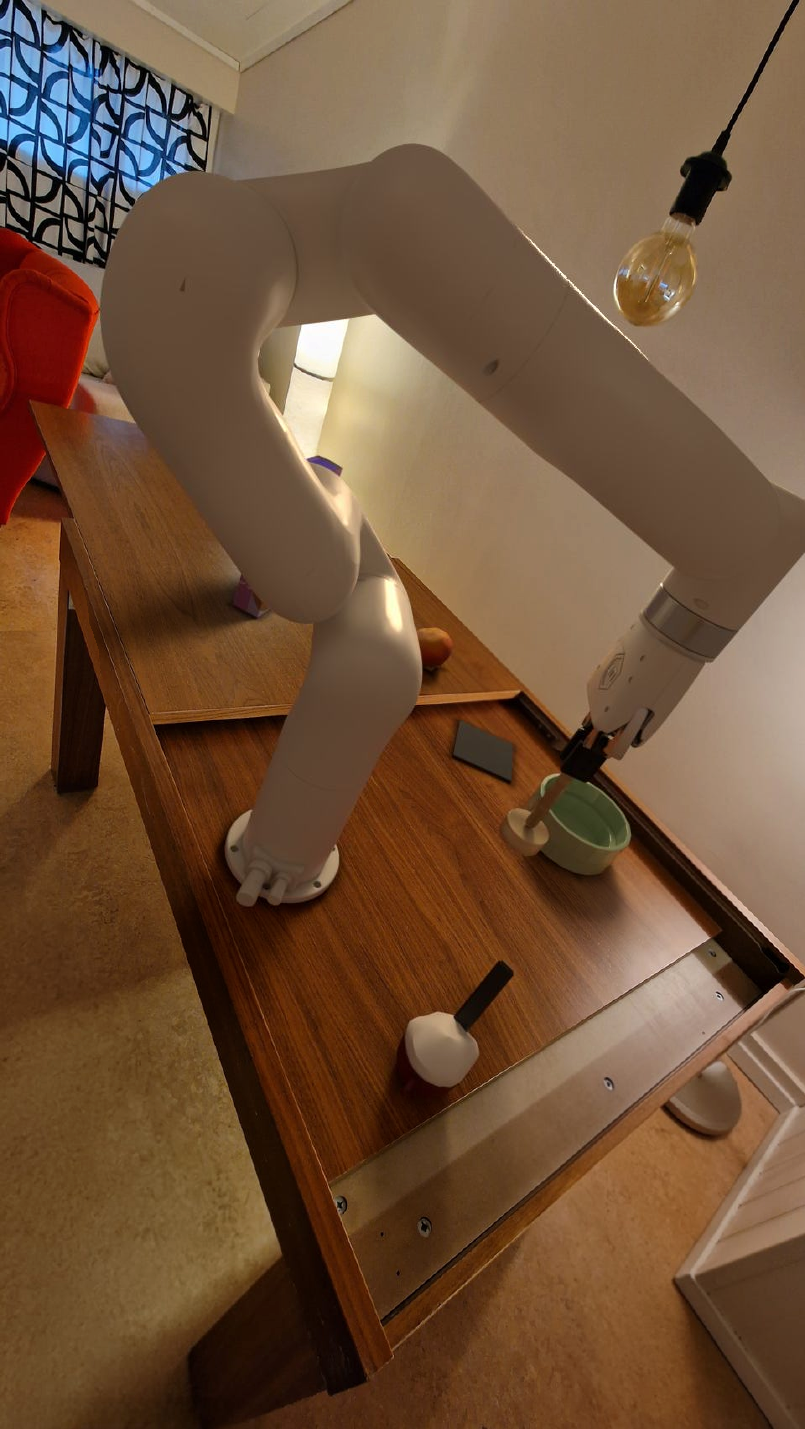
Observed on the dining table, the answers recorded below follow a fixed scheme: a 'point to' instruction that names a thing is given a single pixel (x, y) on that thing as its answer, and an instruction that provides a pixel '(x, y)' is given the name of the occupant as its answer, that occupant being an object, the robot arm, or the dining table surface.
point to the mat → (484, 751)
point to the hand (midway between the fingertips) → (572, 768)
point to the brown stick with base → (532, 821)
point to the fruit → (434, 647)
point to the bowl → (582, 827)
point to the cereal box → (244, 593)
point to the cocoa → (446, 1041)
